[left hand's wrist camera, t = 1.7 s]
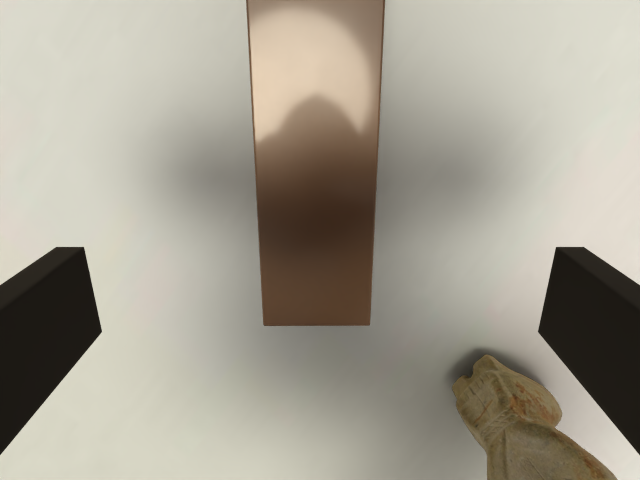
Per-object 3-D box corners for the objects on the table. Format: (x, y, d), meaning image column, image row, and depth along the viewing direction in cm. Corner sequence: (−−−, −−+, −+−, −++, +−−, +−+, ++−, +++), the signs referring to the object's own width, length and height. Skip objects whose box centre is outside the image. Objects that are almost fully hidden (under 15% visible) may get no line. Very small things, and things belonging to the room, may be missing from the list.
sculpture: (497, 435, 32) (635, 712, 18) (428, 384, 31) (522, 645, 17) (560, 386, 31) (763, 648, 17) (491, 329, 29) (653, 566, 15)
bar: (354, 249, 27) (370, 326, 19) (279, 249, 27) (263, 326, 19) (368, -242, 19) (408, -486, 11) (262, -242, 19) (220, -487, 11)
